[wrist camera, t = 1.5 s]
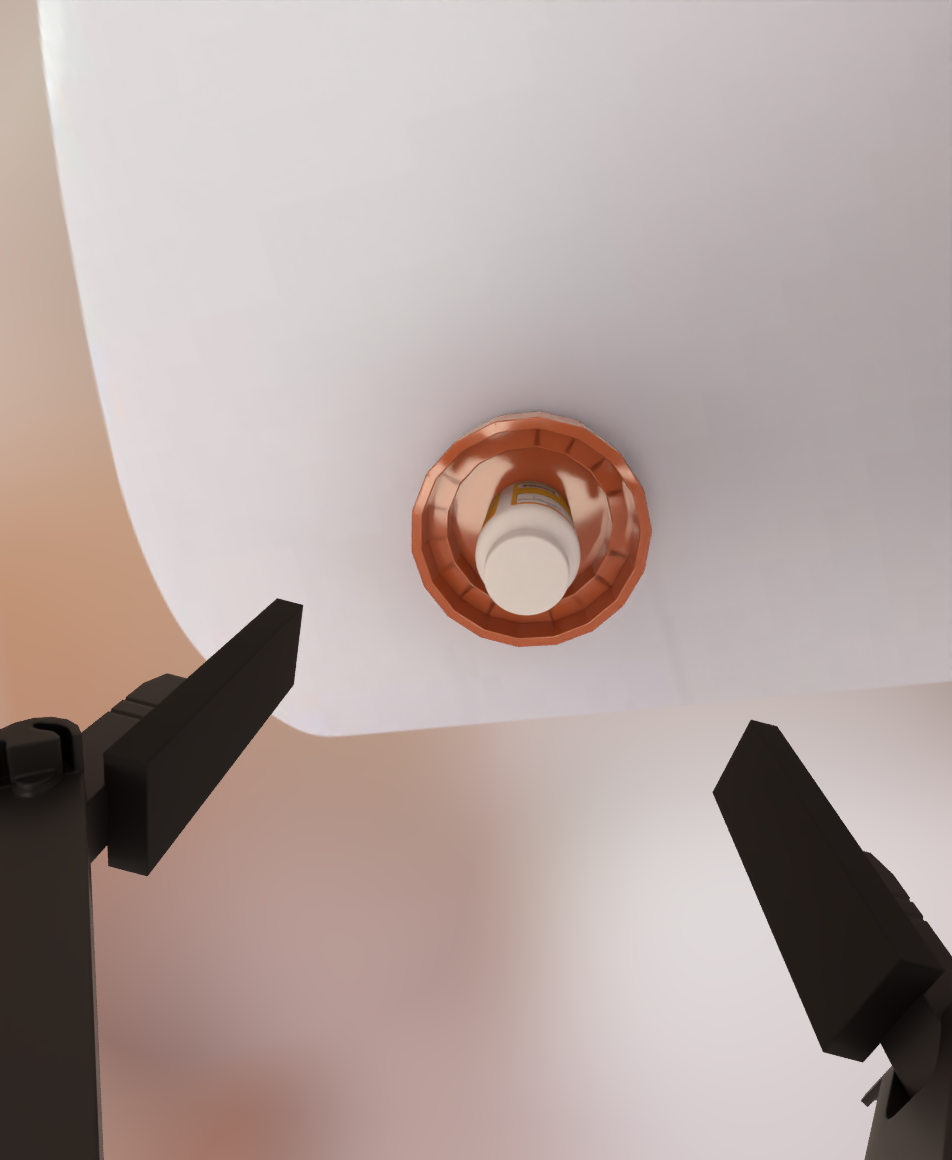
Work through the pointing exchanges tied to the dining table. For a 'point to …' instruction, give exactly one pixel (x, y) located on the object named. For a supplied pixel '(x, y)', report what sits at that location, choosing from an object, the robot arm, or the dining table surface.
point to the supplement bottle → (528, 548)
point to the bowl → (596, 500)
